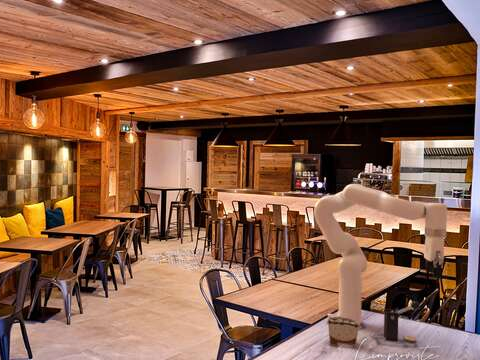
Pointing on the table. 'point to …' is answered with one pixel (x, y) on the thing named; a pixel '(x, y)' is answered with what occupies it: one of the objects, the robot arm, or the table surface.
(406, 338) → the cake
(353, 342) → the food container
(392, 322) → the black upright box
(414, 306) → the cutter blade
